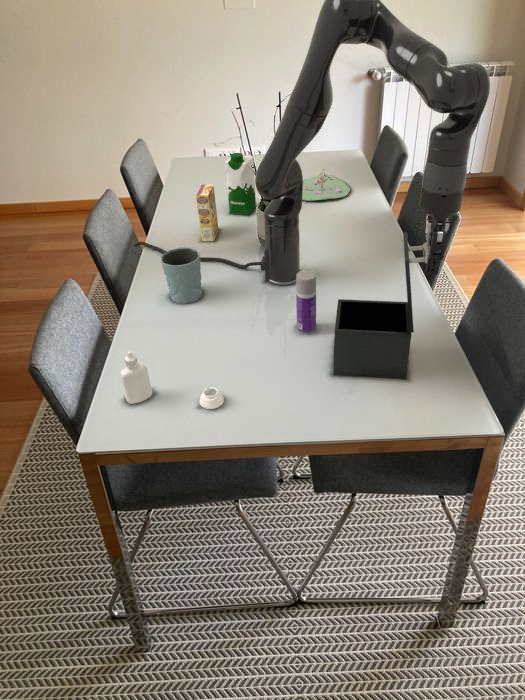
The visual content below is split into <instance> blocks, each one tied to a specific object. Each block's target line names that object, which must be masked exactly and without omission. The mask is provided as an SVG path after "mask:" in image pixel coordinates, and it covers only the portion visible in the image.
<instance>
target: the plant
mask: <svg viewBox="0 0 525 700" xmlns="http://www.w3.org/2000/svg"><path fill="white" fill-rule="evenodd" d="M325 170H326V169H325V168H322V171H325ZM350 192H351V188H350V186H349V185H348V184H346V183H345V182H344V181H342V180H341V179H338V178H336V177H335V176H332V175H328V174H326V173H325V172H320V173H319V174H318V176H313V177H309V178H306V179H305V180H303V194H302V201H309V202H310V201H323V200H333V199H340V198H344V197H346V196H347V195H348V194H349V193H350Z"/></svg>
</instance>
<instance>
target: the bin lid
mask: <svg viewBox="0 0 525 700" xmlns="http://www.w3.org/2000/svg"><path fill="white" fill-rule="evenodd" d="M402 235H403V237H402V239H403V251H404V252H403V253H404V255H403V256H404V267H405V268H404V270H405V284H406V297H407V298H406V299H407V300H406V302H408V316H409V330H410V333H411V334H413V333H415V331H414V315H413V300H412V299H413V298H412V284H411V283H412V281H411V267H410V264H414V263H424V264H426V265H427V262H428V252H429V245H427V242H426V241H425V242H423V244H422V245H414V246H409V239H408V238H409V237H408V231H403V232H402ZM415 251H422V255H423V256H421V257H411V258H410V254H409V252H415Z"/></svg>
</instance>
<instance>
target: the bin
mask: <svg viewBox="0 0 525 700" xmlns="http://www.w3.org/2000/svg"><path fill="white" fill-rule="evenodd" d="M333 336H334V337H333V339H334V342H333V344H334V345H333V373H332V375H333V376H343V377H358V378H359V377H360V378H376V379H377V378H378V379H391V380H392V379H394V380H407V375H408V368H409V359H410V351H411V350H410V349H411V343H412V333H410V330H409V316H408V301H393V300H392V301H390V300H389V301H388V300H367V299H366V300H364V299H344V298H338V299H337V306H336V314H335V323H334V335H333Z"/></svg>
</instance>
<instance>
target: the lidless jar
mask: <svg viewBox="0 0 525 700" xmlns="http://www.w3.org/2000/svg"><path fill="white" fill-rule="evenodd" d="M224 401H225V399H224V395H223V394H222V393H221V392H220V391H219V390H218V388H216V387H214V386H210V387H206V388H205V389H204V390H203V391H202V394H201V395H200V397H199V405H200V406H201V407H202V408H203V409H207V410H214V409H217V408H219V407H221V406H222V405H223V403H224Z"/></svg>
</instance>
